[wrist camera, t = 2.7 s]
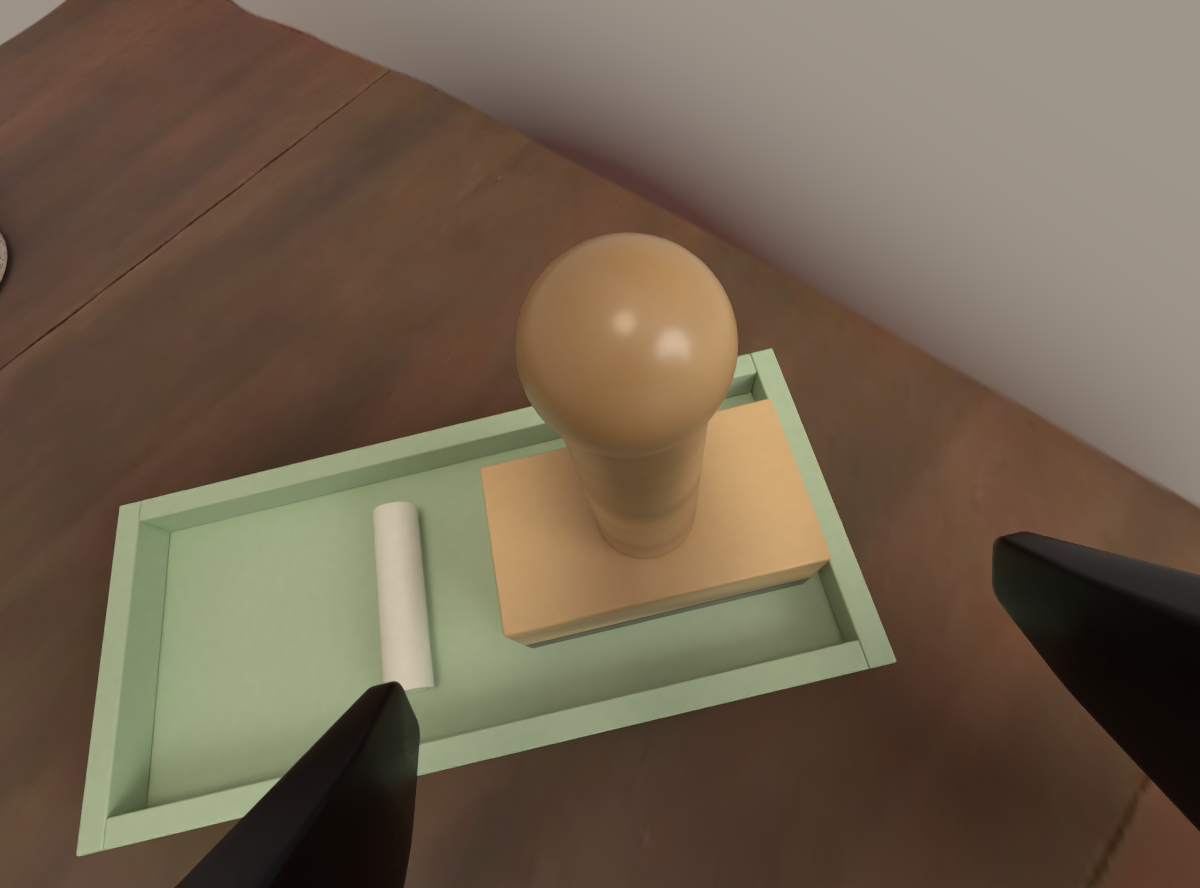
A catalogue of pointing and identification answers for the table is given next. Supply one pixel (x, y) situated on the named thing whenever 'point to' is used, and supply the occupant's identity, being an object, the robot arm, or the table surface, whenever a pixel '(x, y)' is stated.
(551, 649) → the tray
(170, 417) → the table surface
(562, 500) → the wooden rubber stamp
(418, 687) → the chalk
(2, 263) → the teacup with lid
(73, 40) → the table surface
